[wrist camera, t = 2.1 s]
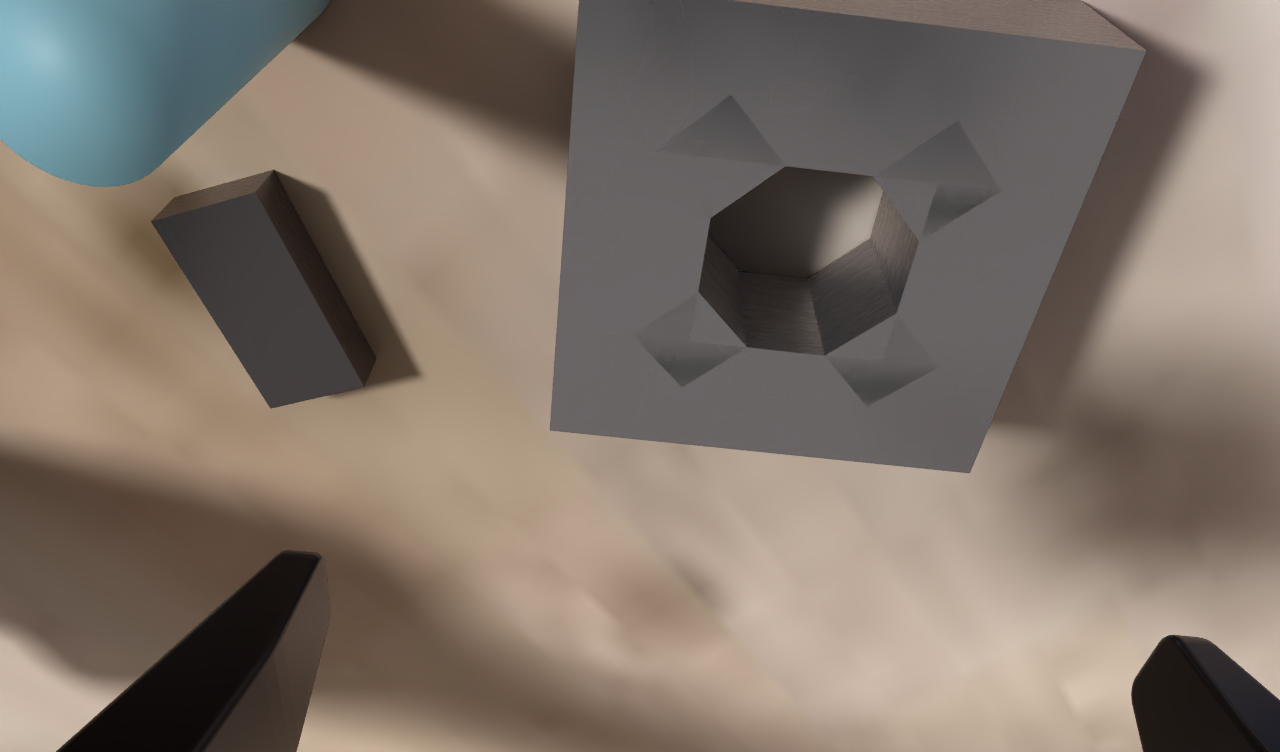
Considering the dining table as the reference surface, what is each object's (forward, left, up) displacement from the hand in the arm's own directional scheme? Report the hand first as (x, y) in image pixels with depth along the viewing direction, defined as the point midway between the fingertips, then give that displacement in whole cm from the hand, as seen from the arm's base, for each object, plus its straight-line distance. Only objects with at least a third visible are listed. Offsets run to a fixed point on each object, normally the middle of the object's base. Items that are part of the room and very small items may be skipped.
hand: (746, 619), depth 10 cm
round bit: (+3, +9, -12) cm, 15 cm away
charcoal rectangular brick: (-4, +9, -12) cm, 16 cm away
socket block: (0, -2, -12) cm, 12 cm away
